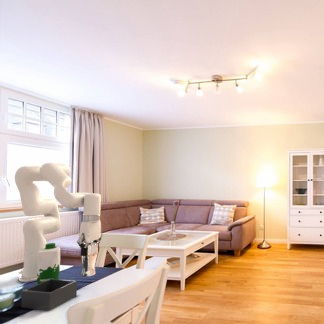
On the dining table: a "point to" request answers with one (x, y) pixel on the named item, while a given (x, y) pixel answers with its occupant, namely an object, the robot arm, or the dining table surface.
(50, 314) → the dining table surface
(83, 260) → the beer glass
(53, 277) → the milk carton
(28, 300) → the bin
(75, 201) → the robot arm
